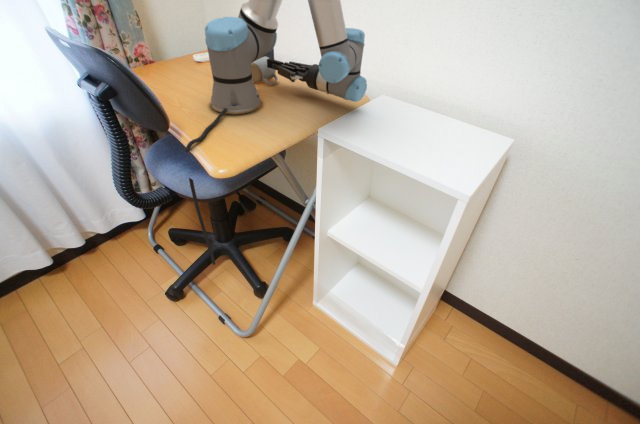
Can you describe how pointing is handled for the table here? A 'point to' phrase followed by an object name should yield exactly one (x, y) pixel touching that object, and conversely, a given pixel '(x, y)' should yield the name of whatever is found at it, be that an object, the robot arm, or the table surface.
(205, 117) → the table surface
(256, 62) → the ceramic mug
